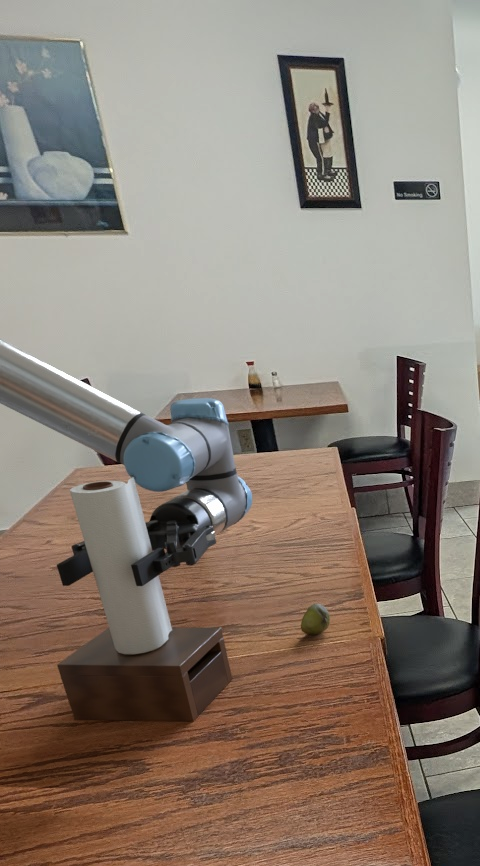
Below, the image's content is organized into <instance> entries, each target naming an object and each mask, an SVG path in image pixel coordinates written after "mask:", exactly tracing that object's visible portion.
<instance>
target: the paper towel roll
mask: <svg viewBox="0 0 480 866" xmlns="http://www.w3.org/2000/svg"><path fill="white" fill-rule="evenodd" d="M69 493H70V496H71V500H72V503H73V507H74V511H75V514H76V517H77V521H78V524H79V528H80V531H81V534H82V539H83V541H84V542H85V545H86V549H87V552H88V556H89V559H90V563H91V566H92V570H93V572H92V573H93V576H94V579H95V584H96V586H97V590H98V593H99V598H100V600H101V603H102V608H103V611H104V614H105V617H106V622H107V625H108V628H109V629H110V632H111V635H112V639H113V642H114V646H115V649H116V650H117V651H118V652H119V653H122V654H139V653H145V652H149V651H152V650H155V649H157V648H159V647H161V646H162V645H163V644H164V643H165V642H166V641H167V640H168V634H169V633H170V632H171V631H172V627H173V626H172V624H171V619H170V615H169V611H168V606H167V604H166V599H165V596H164V592H163V591H164V590H163V588H162V582H161V579H160V576H159V575H158V576H157V577H155V578H154V579H152V580H151V581H149V582H148V583H146V584H145V585H143V586H136V582H135V578H134V575H133V571H132V567H131V565H132V564H133V563H135V562H136V561H138V560H140V559H141V558H143V557H144V556H146V555H148V554H149V553H151V552H153V551H152V547H151V543H150V539H149V535H148V532H147V528H146V524H145V523H146V520H145V516H144V511H143V508H142V504H141V500H140V497H139V492H138V488H137V484H136V483H135V480H134V477H132V478H131V477H129V479H127V483H126V482H124V481H121V480H101V481H99V480H98V481H92V482H86V483H81V484H78V485H74V486H72V487H71V488H70V489H69Z"/></svg>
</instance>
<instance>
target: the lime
mask: <svg viewBox="0 0 480 866" xmlns="http://www.w3.org/2000/svg"><path fill="white" fill-rule="evenodd" d="M330 623H331V615H330V613H329V611H328V609H327V607H326V606H325V605H323V604H320V603H313V604H311V605H310V606H309V607H308V608H307V610H305V613H304V614H303V616H302V618H301V622H300V630H301V632H302V633H304V634H306V635H311V636H312V635H313V636H316V635H320V634H322V633H323V632H325V631H326V630H327V629H328V628H329V626H330Z"/></svg>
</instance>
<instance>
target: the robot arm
mask: <svg viewBox="0 0 480 866" xmlns="http://www.w3.org/2000/svg"><path fill="white" fill-rule="evenodd" d="M0 404H1V405H3V406H5V407H6V408H9V409H11V410H13V411H15V412H17V413H19V414H20V415H23V416H25V417H27V418H29V419H31V420H32V421H34V422H36V423H39V424H41V425H43V426H45V427H47V428H49V429H50V430H53V431H55V432H57V433H59V434H61V435H63V436H65V437H66V438H69V439H70V440H73V441H74V442H77V443H78V444H81V445H83V446H85V447H87V448H89V449H90V450H93V451H95V452H97V453H98V454H101V455H103V456H105V457H106V458H109V459H111V460H113V461H115V462H117V463H119V464H121V465H123V466H124V469H125V471H126V473H127V475H128V476H129V478H132V477H134V480H135V484H136V485H138V486H139V487H140V488H143V489H145V490H148V491H150V492H154V493H157V492H158V493H160V492H161V493H162V492H167V491H171V490H173V489H176V488H179V487H181V486H183V485H186V491H185V490H184V491H183V492H182V493H180V494H178V495H176V496H174V497H173V498H171V499H170V500H168V501H165V502H164V503H162V504H161V505H158V506H157V507H156V508H155V509H154V510H153V512H152V513H151V516H150V517H149V521H145V524H146V528H147V532H148V535H149V539H150V543H151V547H152V551H153V552H151V553H149V554H148V555H146V556H144V557H143V558H141V559H140V560H138V561H136V562H135V563H133V564H132V565H131V567H132V571H133V575H134V578H135V582H136V586H143V585H145V584H146V583H148V582H149V581H151V580H152V579H154V578H155V577H157V576H158V575H161V574H163V573H164V572H166V571H168V570H170V569H171V568H177V567H180V566H181V564H182V563H185V565H186V566H190V567H191V566H194V565H197V563H198V562H199V561H200V560H201V558H202V557H203V555H204V554H205V553H206V552H207V550H208V549H209V548H210V547H212V546H214V545H216V544H217V539H216V536H218V535H220V534H221V533H223V532H225V530H227V529H228V528H230V527H232V526H234V525H236V524H237V523H239V522H240V521H241V520H242V519H244V517H245V516H246V515H247V514H248V513H249V511H250V509H251V508H252V505H253V494H252V490H251V489H250V487H249V486H248V484H247V483H246V481H245V480H244V479H243V478H241V476H239V475H238V471H237V467H236V462H235V457H234V450H233V445H232V439H231V433H230V428H229V427H230V423H229V421H228V418H227V414H226V411H225V406H224V404H223V402H221V401H220V400H219V399H217V398H211V397H210V398H207V397H204V398H203V397H202V398H201V397H199V398H185V399H180V400H176V401H174V402H172V403H171V404H170V408H169V409H170V410H169V411H170V422H171V423H168V424H164V423H163V422H161V421H159V420H157V419H155V418H153V417H152V416H149V415H148V414H145V413H143V411H140V410H138V409H136V408H134V407H132V406H130V405H129V404H126V403H125V402H123V401H121V400H119V399H117V398H115V397H113V396H111V395H109V394H107V393H105V392H103V391H101V390H99V389H97V388H96V387H94V386H92V385H90V384H88V383H86V382H84V381H82V380H80V379H79V378H76V377H75V376H73V375H70V374H69V373H66V372H65V371H63V370H61V369H59V368H57V367H55V366H53V365H51V364H49V363H48V362H46V361H44V360H42V359H40V358H38V357H36V356H34V355H32V354H30V353H28V352H27V351H24V350H23V349H21V348H20V347H17V346H15V345H14V344H11V343H9V342H8V341H6V340H3V339H1V338H0ZM71 550H72V554H73V555H72V556H70V557H68V558H67V559H65V560H63V561H61V562H59V563H57V564H56V568H57V571H58V575H59V578H60V581H61V584H62V586H63V587H69V586H71V585H73V584H75V583H77V582H78V581H80V580H81V579H83V578H85V577H86V576H88V575H90V574H91V573H93V570H92V566H91V563H90V559H89V556H88V552H87V549H86V545H85V542H84V540H83V541H80V542H77V543H75V544H73V545H71Z"/></svg>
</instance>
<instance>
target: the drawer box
mask: <svg viewBox="0 0 480 866" xmlns="http://www.w3.org/2000/svg"><path fill="white" fill-rule="evenodd" d="M171 627H172V631H171V632H170V633H169V634H168V640H167V641H166V642H165V643H164V644H163V645H162V646H161V647H159V648H157V649H155V650H152V651H149V652H145V653H139V654H122V653H119V652H118V651H117V650H116V649H115V646H114V642H113V639H112V635H111V632H110V629H109V627H107V628H106V629H104V630H103V631H102V632H100V633H99V634H97V635H96V636H94V637H93V638H92V639H91V640H89V641H88V642H87V643H85V644H83V646H81V647H79V648H78V649H77V650H76V651H74V652H73V653H71V654H69V655H68V656H67V657H66V658H64V659H63V660H62V661H60V662H59V663H57V664H56V666H57V670H58V673H59V675H60V679H61V682H62V685H63V688H64V691H65V695H66V698H67V700H68V702H69V707H70V710H71V713H72V716H73V719H74V720H80V721H136V722H137V721H138V722H139V721H142V722H143V721H144V722H145V721H146V722H147V721H148V722H150V721H151V722H195V720H196V719H198V717H199V716H200V715H201V714H202V713H203V712H204V711H205V710H206V708H207V707H208V706H209V705H210V704H211V703H212V702H213V701H214V700H215V699H216V698H217V696H219V694H220V693H221V692H222V691H223V690H224V689H225V688H226V687H227V685H229V683H230V682H231V681H232V680H233V676H232V671H231V670H232V669H231V666H230V662H229V657H228V653H227V648H226V644H225V643H226V642H225V638H224V635H223V630H222V627H200V626H199V627H190V626H188V627H186V626H185V627H183V626H181V627H180V626H178V627H177V626H175V627H174V626H171Z"/></svg>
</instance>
